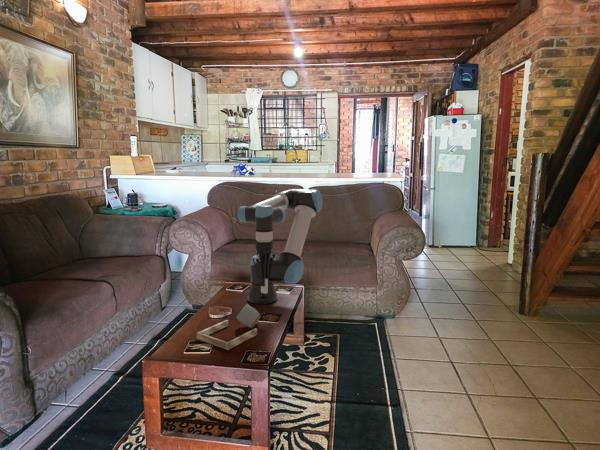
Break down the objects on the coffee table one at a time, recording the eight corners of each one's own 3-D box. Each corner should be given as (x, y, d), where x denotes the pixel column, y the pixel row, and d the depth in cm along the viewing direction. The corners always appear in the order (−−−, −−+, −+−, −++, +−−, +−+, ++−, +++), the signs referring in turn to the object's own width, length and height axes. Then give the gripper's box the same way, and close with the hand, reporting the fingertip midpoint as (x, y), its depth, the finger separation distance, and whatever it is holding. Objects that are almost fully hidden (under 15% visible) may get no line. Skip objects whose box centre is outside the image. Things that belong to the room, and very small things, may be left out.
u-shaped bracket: (226, 325, 179) (226, 319, 178) (257, 334, 169) (257, 328, 169) (196, 339, 165) (196, 333, 164) (227, 350, 155) (227, 343, 155)
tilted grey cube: (249, 332, 175) (255, 322, 170) (234, 321, 176) (239, 311, 171) (262, 316, 183) (267, 306, 178) (246, 305, 184) (252, 295, 179)
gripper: (266, 237, 188) (266, 287, 192) (247, 241, 178) (248, 294, 181) (280, 239, 184) (279, 290, 188) (261, 243, 174) (261, 298, 177)
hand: (264, 292), depth 184 cm, fingers closed
